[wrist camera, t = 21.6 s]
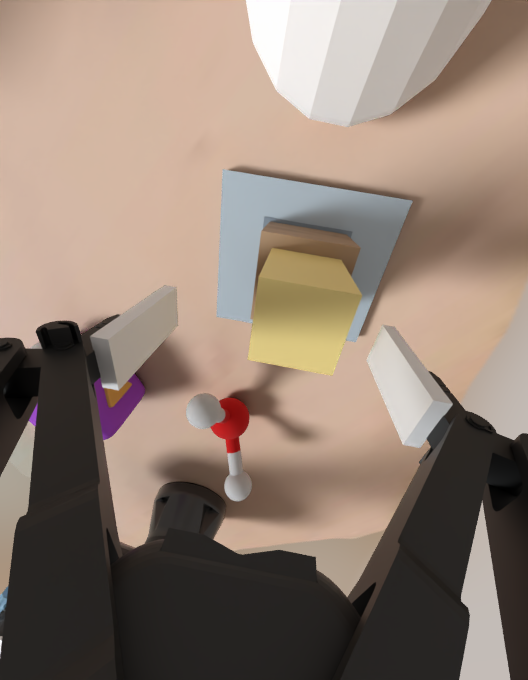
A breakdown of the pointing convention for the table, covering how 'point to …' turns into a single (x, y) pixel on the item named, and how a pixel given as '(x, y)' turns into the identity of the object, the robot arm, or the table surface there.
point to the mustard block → (302, 311)
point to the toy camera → (111, 403)
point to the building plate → (305, 211)
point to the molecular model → (224, 435)
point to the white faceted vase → (357, 51)
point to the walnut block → (304, 246)
